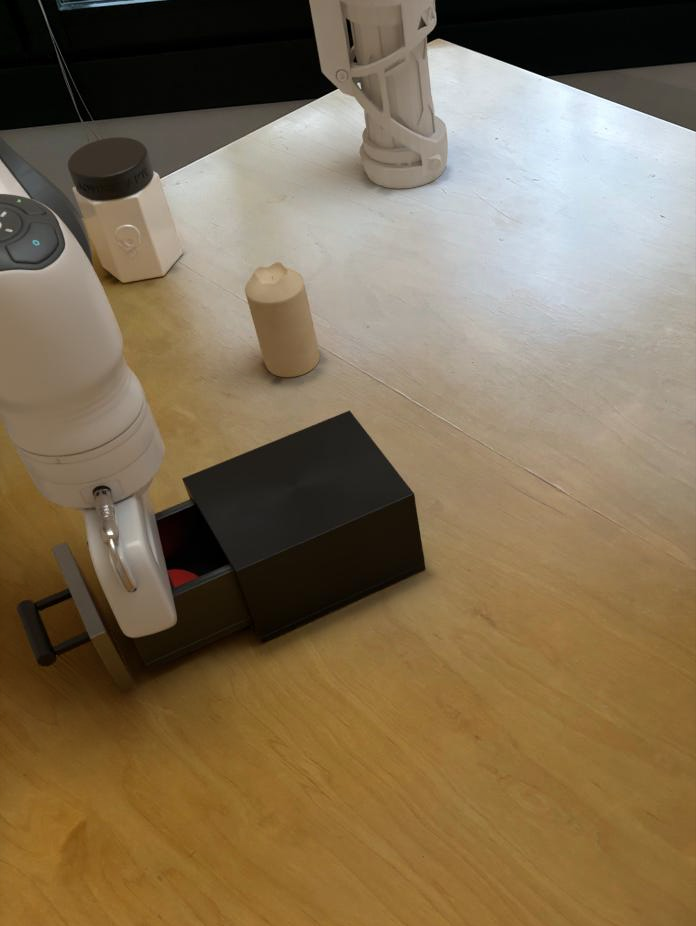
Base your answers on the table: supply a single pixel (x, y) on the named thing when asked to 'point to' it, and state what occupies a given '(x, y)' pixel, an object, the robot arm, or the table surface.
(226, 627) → the drawer
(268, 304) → the candle
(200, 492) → the cabinet
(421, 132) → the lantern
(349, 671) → the table surface
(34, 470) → the robot arm
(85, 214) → the jar
